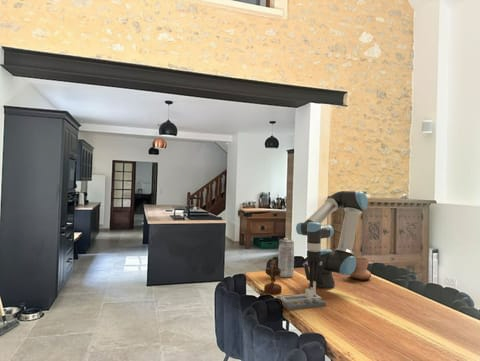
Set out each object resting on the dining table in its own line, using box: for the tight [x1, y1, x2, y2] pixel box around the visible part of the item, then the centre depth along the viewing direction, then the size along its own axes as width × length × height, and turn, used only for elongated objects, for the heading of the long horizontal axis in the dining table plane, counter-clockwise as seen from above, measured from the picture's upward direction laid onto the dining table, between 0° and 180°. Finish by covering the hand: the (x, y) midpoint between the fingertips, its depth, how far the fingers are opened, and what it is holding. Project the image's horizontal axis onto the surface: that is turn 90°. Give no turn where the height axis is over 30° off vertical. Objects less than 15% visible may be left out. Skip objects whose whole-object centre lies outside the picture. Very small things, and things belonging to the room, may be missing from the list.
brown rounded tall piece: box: [263, 258, 283, 296], centre depth 191 cm, size 15×11×20 cm
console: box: [275, 292, 327, 311], centre depth 172 cm, size 22×16×4 cm
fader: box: [304, 287, 314, 298], centre depth 173 cm, size 3×4×5 cm
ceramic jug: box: [349, 256, 372, 281], centre depth 222 cm, size 18×14×14 cm
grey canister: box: [277, 237, 295, 278], centre depth 226 cm, size 9×10×27 cm
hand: (313, 292), depth 174 cm, fingers closed
